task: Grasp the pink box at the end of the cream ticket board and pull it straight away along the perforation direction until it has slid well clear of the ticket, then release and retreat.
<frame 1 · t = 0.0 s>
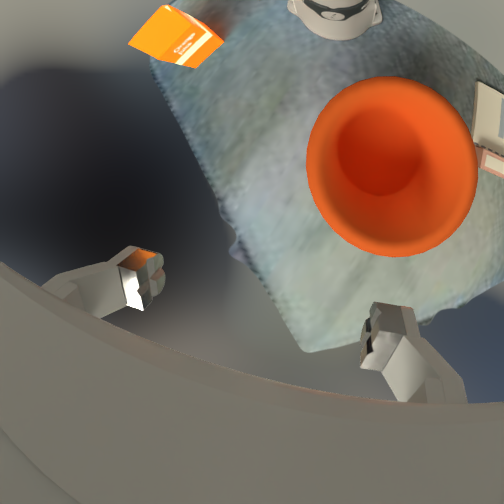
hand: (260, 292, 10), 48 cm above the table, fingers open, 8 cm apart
pink box: (490, 162, 37), point 3 cm above the table, slide at 0.0 cm
ticket: (490, 120, 35), on the table
flowerpot: (377, 152, 48), on the table
orange juice: (199, 45, 46), on the table
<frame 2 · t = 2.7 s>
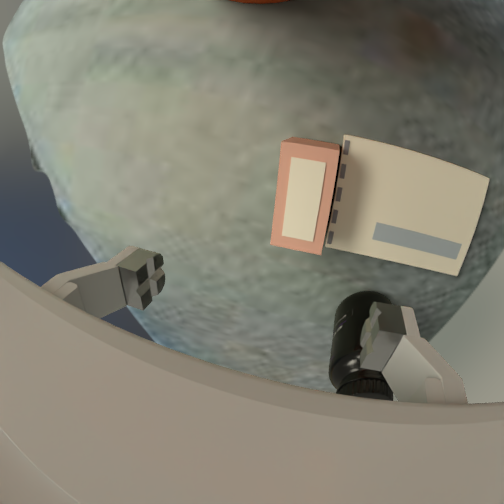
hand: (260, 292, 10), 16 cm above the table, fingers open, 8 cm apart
pink box: (306, 191, 21), point 3 cm above the table, slide at 0.0 cm
ticket: (408, 206, 22), on the table
supplement bottle: (364, 313, 28), on the table
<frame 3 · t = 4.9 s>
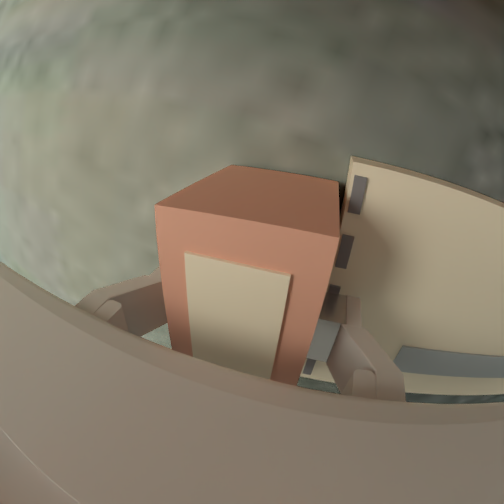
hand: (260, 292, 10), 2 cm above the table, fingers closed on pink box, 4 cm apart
pink box: (255, 302, 9), point 3 cm above the table, slide at 0.0 cm, touching gripper
ticket: (463, 303, 10), on the table
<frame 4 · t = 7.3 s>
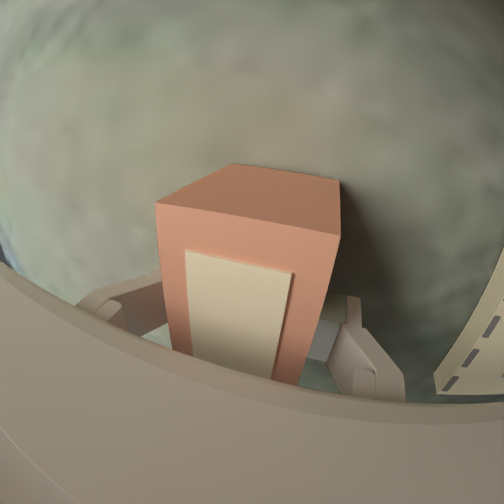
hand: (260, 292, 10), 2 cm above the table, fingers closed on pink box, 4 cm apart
pink box: (256, 301, 9), point 3 cm above the table, slide at 7.9 cm, touching gripper
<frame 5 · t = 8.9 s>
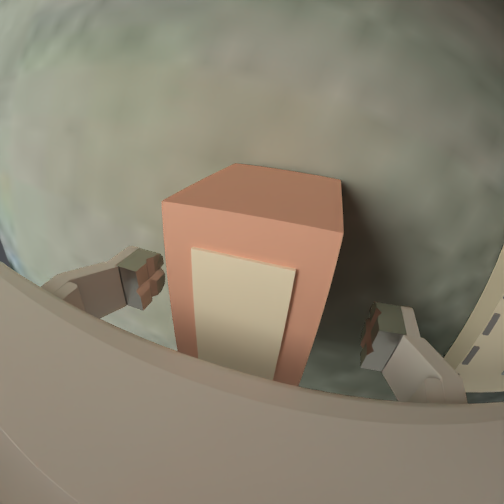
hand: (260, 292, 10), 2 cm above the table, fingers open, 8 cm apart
pink box: (259, 299, 10), point 3 cm above the table, slide at 7.9 cm
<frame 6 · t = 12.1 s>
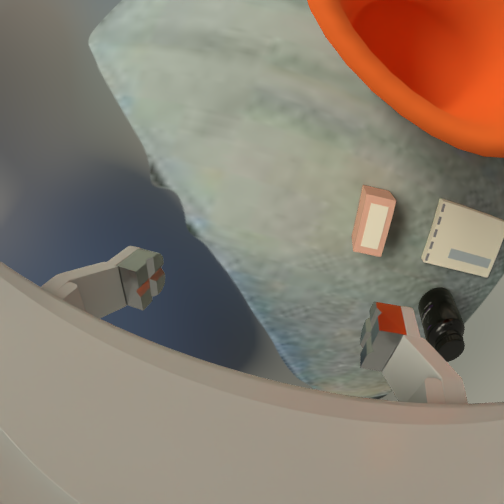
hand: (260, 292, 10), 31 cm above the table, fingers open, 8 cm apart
pink box: (372, 220, 35), point 3 cm above the table, slide at 7.9 cm
ticket: (465, 238, 34), on the table
flowerpot: (408, 51, 25), on the table
supplement bottle: (434, 301, 40), on the table
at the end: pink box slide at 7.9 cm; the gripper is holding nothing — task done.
